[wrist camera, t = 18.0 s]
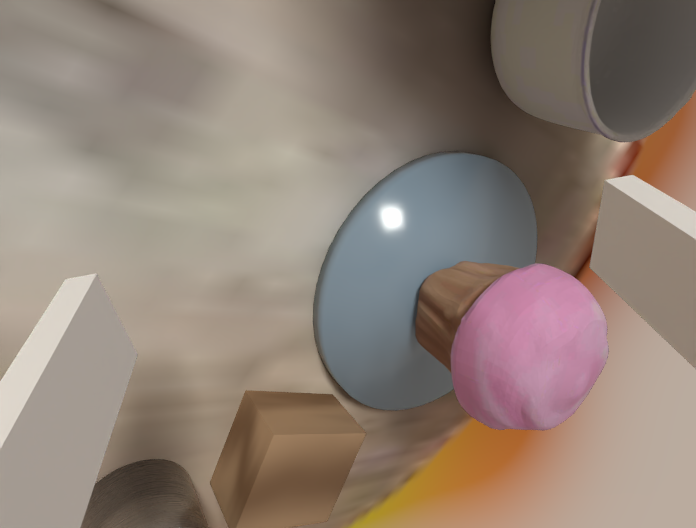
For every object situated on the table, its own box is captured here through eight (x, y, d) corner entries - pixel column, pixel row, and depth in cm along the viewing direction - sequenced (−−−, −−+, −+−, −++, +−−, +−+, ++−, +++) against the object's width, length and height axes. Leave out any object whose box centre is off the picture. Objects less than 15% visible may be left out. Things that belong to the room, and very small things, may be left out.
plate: (446, 85, 26) (462, 87, 25) (553, 247, 37) (566, 252, 36) (253, 339, 25) (262, 351, 24) (419, 428, 36) (429, 439, 35)
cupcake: (385, 378, 30) (511, 495, 22) (378, 253, 26) (529, 343, 18) (489, 327, 34) (627, 412, 26) (496, 212, 30) (662, 271, 22)
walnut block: (244, 388, 26) (273, 434, 23) (330, 392, 30) (366, 433, 27) (209, 480, 27) (232, 536, 24) (296, 473, 31) (327, 521, 28)
